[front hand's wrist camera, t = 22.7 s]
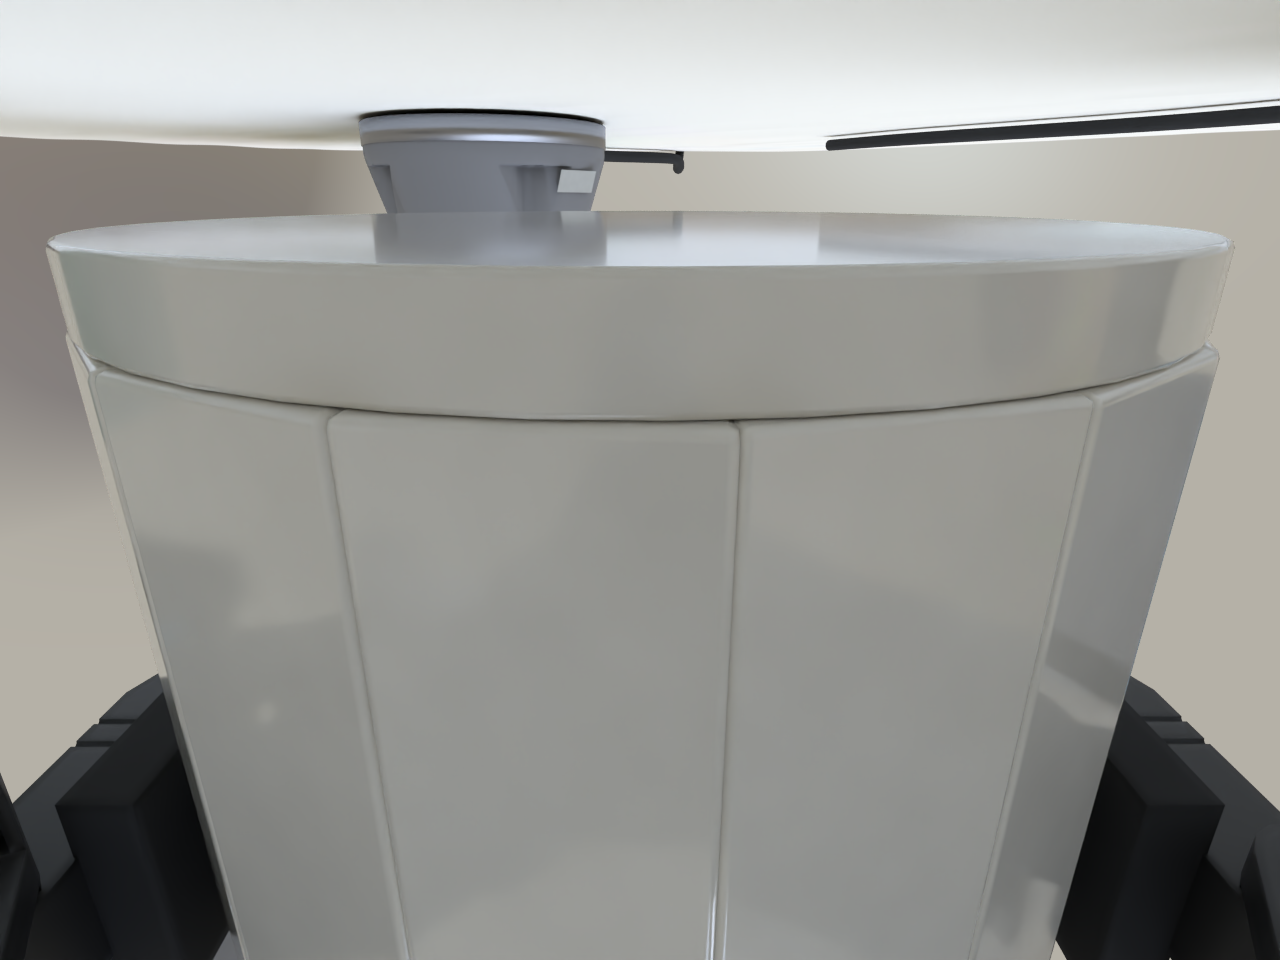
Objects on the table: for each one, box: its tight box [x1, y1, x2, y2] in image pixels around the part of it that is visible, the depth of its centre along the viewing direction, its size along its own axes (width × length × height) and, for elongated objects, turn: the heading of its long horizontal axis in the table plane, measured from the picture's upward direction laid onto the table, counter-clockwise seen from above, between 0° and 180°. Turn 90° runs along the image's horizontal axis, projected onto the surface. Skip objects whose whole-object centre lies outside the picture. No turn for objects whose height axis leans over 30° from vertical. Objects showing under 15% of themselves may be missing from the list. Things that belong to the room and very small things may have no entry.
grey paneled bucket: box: [46, 211, 1235, 960], centre depth 9 cm, size 10×10×10 cm
